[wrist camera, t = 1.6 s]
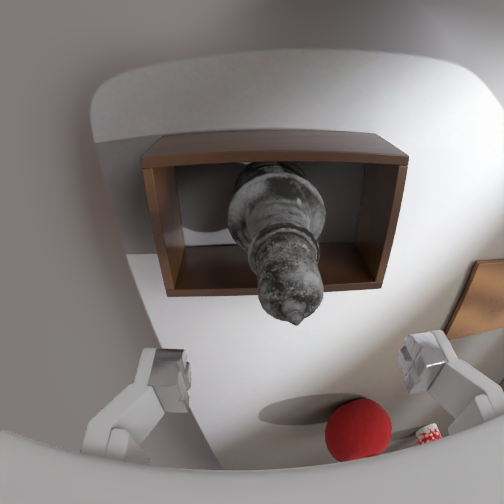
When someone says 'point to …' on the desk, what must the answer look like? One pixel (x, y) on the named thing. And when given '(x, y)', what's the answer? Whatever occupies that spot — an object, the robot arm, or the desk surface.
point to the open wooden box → (272, 150)
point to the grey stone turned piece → (280, 236)
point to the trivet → (480, 301)
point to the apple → (358, 430)
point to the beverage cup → (427, 434)
